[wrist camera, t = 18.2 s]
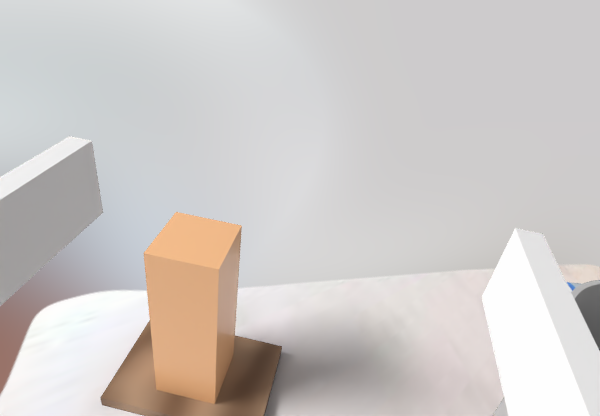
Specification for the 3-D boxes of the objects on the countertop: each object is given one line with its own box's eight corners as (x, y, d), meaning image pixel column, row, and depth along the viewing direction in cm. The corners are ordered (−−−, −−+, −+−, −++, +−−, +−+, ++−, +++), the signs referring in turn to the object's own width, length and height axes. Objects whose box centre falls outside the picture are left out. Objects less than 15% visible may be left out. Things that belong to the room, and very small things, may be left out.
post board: (280, 353, 51) (288, 304, 47) (256, 443, 42) (263, 393, 37) (152, 323, 52) (148, 272, 48) (102, 404, 43) (90, 351, 39)
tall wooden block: (181, 342, 49) (176, 211, 39) (233, 354, 49) (241, 225, 39) (156, 389, 44) (143, 253, 34) (214, 404, 43) (218, 269, 34)
